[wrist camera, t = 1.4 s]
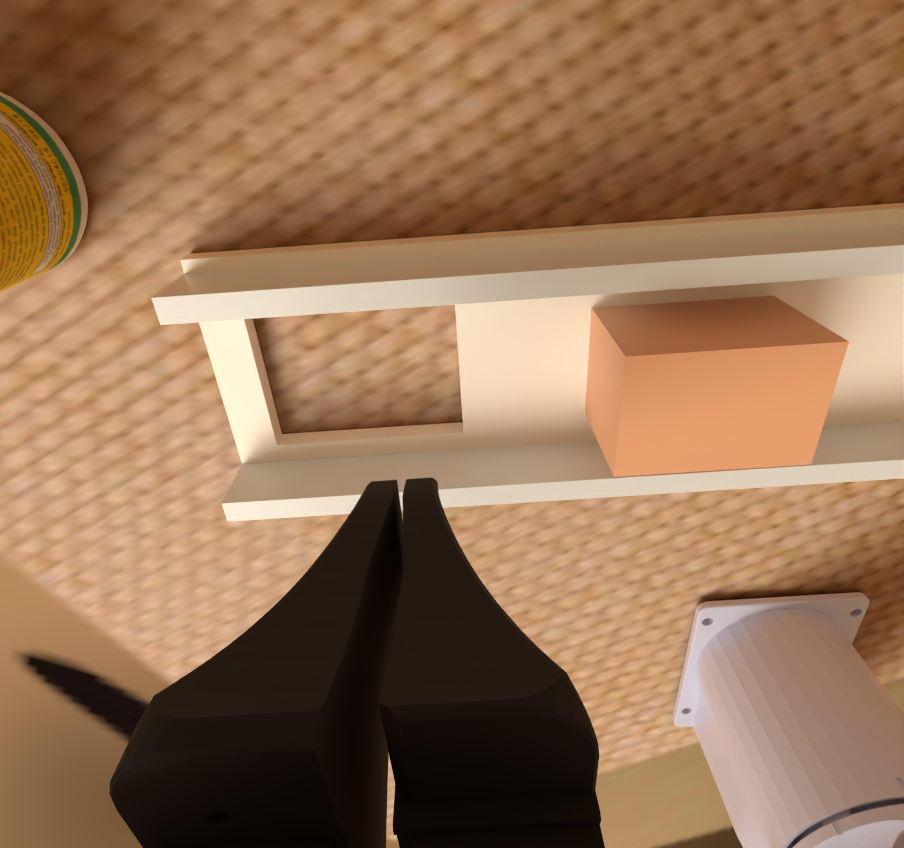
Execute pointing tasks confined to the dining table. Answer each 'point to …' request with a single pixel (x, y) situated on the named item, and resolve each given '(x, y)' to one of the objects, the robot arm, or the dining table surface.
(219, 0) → the dining table surface
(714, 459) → the terracotta block
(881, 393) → the trap channel
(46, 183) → the supplement bottle
